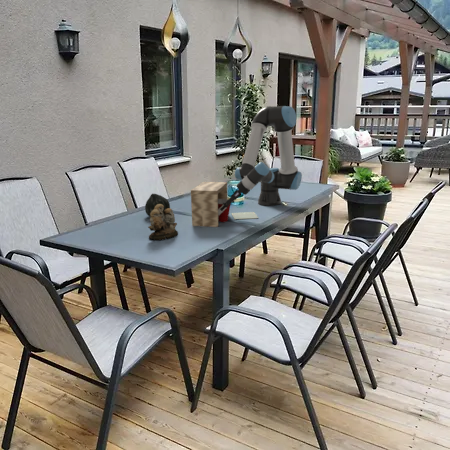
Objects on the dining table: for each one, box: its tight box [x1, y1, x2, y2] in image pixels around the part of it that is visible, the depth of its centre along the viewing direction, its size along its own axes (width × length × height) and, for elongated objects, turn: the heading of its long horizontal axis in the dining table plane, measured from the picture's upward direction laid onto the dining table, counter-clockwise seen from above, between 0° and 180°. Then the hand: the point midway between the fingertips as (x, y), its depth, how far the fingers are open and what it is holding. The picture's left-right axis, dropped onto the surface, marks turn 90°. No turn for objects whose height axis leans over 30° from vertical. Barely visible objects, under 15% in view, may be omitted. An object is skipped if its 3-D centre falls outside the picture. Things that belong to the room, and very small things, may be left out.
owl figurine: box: [147, 204, 179, 241], centre depth 226 cm, size 18×12×17 cm, turn 144°
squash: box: [144, 193, 171, 218], centre depth 266 cm, size 14×15×15 cm
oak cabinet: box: [190, 181, 228, 228], centre depth 254 cm, size 14×26×20 cm, turn 167°
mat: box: [231, 211, 259, 221], centre depth 264 cm, size 14×14×1 cm
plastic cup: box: [218, 198, 232, 223], centre depth 254 cm, size 11×11×12 cm
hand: (220, 210), depth 254 cm, fingers open, 13 cm apart
